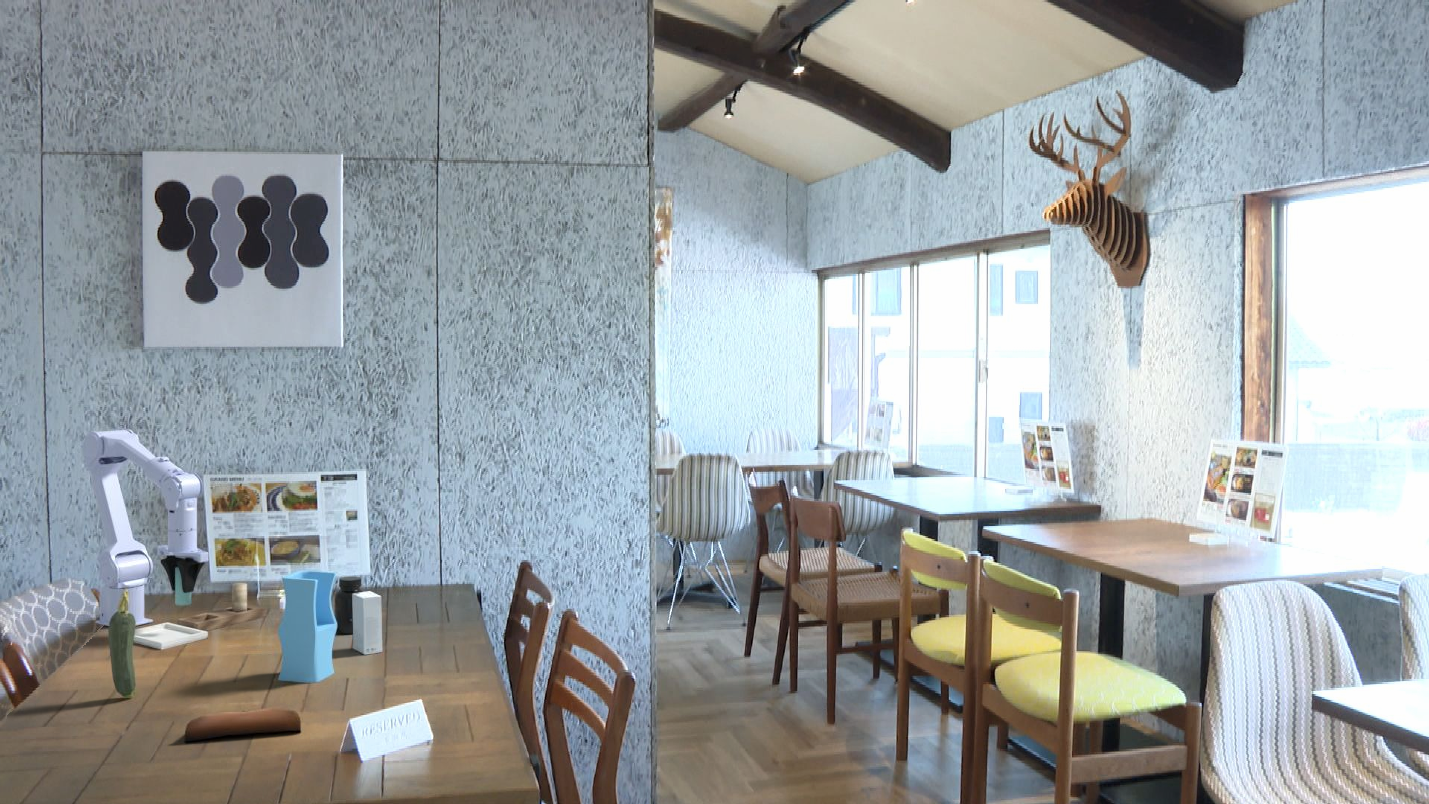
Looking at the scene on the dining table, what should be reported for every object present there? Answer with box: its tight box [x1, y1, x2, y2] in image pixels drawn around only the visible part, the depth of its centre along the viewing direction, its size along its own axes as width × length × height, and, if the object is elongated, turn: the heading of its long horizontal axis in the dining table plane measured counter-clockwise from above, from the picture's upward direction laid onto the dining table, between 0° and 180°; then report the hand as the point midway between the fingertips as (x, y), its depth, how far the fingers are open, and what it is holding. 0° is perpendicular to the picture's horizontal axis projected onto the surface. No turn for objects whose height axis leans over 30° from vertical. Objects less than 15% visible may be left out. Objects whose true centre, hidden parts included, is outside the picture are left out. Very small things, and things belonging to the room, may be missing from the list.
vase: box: [277, 569, 338, 684], centre depth 222 cm, size 8×8×20 cm
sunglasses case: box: [184, 707, 302, 743], centre depth 191 cm, size 18×7×7 cm
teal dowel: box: [174, 567, 192, 606], centre depth 248 cm, size 3×3×8 cm
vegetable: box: [108, 589, 136, 700], centre depth 205 cm, size 4×4×20 cm
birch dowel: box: [231, 582, 248, 613], centre depth 264 cm, size 3×3×8 cm
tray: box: [133, 621, 209, 651], centre depth 246 cm, size 14×11×1 cm
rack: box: [177, 603, 267, 632], centre depth 261 cm, size 18×7×2 cm, turn 150°
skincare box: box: [352, 590, 383, 655], centre depth 240 cm, size 6×4×12 cm
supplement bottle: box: [333, 576, 365, 635], centre depth 256 cm, size 7×7×12 cm
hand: (182, 591), depth 248 cm, fingers closed on teal dowel, 3 cm apart
